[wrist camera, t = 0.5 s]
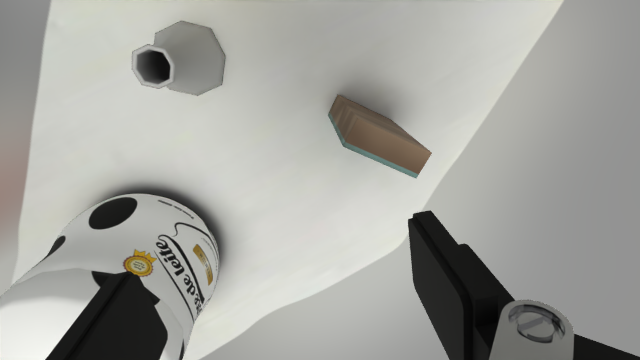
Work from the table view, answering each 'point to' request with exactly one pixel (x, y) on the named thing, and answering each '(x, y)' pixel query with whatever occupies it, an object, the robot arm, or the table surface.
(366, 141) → the walnut slab
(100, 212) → the milk container
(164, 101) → the table surface
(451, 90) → the table surface
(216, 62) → the flask
